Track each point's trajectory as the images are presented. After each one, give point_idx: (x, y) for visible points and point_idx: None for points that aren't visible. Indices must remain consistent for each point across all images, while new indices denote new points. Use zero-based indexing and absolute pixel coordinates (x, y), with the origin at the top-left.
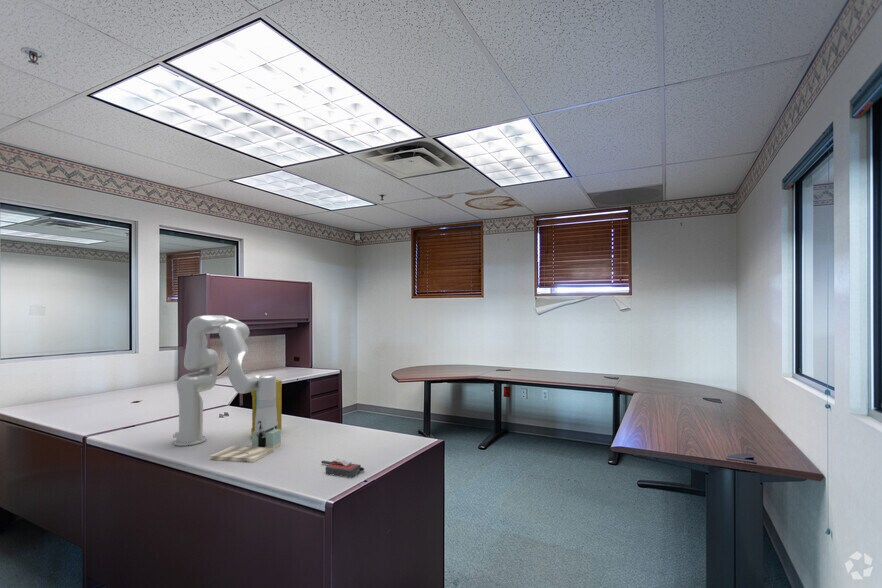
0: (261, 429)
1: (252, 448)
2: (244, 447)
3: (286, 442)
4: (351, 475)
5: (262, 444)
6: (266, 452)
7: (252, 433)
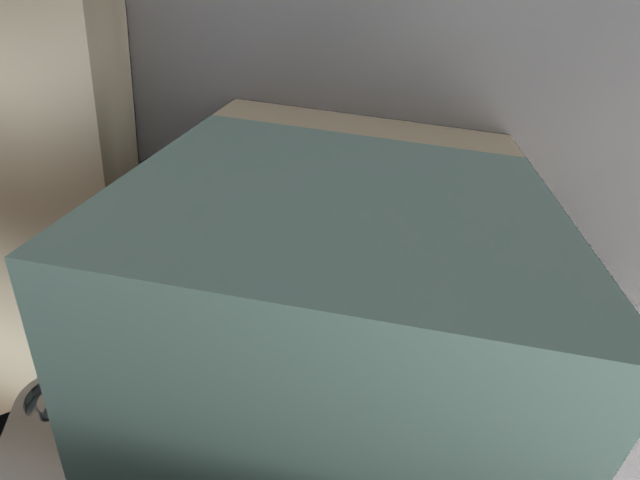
0: (495, 439)
1: (38, 224)
2: (31, 24)
3: None
4: None
5: None
6: None
7: (37, 242)
